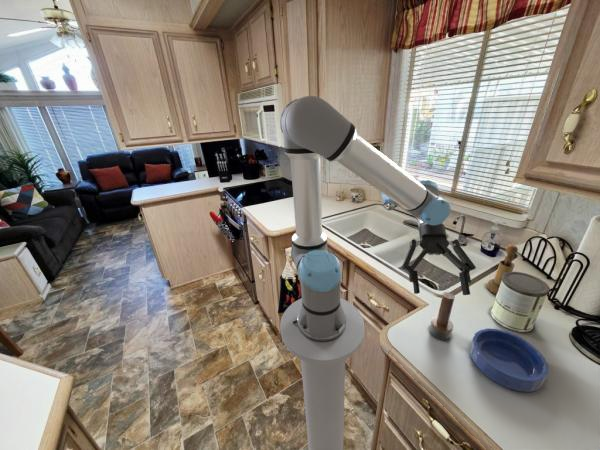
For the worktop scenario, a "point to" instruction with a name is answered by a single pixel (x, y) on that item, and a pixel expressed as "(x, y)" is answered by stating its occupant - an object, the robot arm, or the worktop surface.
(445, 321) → the brush
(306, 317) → the robot arm
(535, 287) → the coffee can
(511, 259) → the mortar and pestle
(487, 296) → the worktop surface
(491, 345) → the bowl
